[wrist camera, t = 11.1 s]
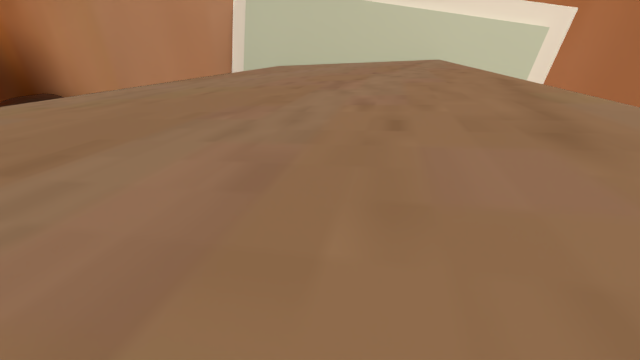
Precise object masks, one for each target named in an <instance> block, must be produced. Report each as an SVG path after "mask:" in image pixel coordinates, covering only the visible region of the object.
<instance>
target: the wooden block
mask: <svg viewBox="0 0 640 360" xmlns="http://www.w3.org/2000/svg"><path fill="white" fill-rule="evenodd" d="M0 360H640V107H636V106H631V105H627V104H623V103H619V102H615V101H610V100H606V99H602V98H598V97H594V96H590V95H585V94H581V93H577V92H573V91H569V90H565V89H560V88H556V87H552V86H548V85H544V84H539V83H535V82H531V81H527V80H523V79H519V78H514V77H510V76H506V75H502V74H498V73H494V72H489V71H485V70H481V69H477V68H473V67H468V66H464V65H460V64H456V63H452V62H448V61H443V60H414V61H389V62H364V63H339V64H314V65H290V66H275V67H268V68H262V69H255V70H248V71H241V72H234V73H228V74H221V75H214V76H207V77H201V78H194V79H187V80H180V81H173V82H167V83H160V84H153V85H146V86H140V87H133V88H126V89H119V90H113V91H106V92H99V93H92V94H85V95H79V96H72V97H65V98H58V99H52V100H45V101H38V102H31V103H24V104H18V105H11V106H4V107H0Z"/></svg>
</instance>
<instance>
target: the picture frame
mask: <svg viewBox="0 0 640 360" xmlns="http://www.w3.org/2000/svg"><path fill="white" fill-rule="evenodd" d="M577 10H578V8H576V7H568V6H561V5H554V4H546V3H539V2H531V1H524V0H233V44H232V73H234V72H241V71H248V70H255V69H262V68H268V67H275V66H290V65H314V64H339V63H364V62H389V61H414V60H443V61H448V62H452V63H456V64H460V65H464V66H468V67H473V68H477V69H481V70H485V71H489V72H494V73H498V74H502V75H506V76H510V77H514V78H519V79H523V80H527V81H531V82H535V83H539V84H543V83H544V81H545V79H546V77H547V74H548V72H549V70H550V68H551V66H552V64H553V62H554V59H555V57H556V55H557V53H558V51H559V49H560V46H561V44H562V42H563V40H564V38H565V36H566V33H567V31H568V29H569V27H570V25H571V23H572V20H573V18H574V16H575V14H576V12H577Z"/></svg>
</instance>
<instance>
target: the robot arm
mask: <svg viewBox="0 0 640 360" xmlns="http://www.w3.org/2000/svg"><path fill="white" fill-rule="evenodd" d="M58 98H65V97H62V96H58V95H54V94H37V95H29V96H22V97H15V98H11V99H8V100H5V101H2V102H0V107H4V106H11V105H18V104H24V103H31V102H38V101H45V100H52V99H58Z"/></svg>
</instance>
